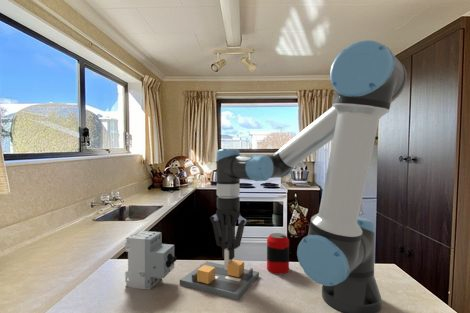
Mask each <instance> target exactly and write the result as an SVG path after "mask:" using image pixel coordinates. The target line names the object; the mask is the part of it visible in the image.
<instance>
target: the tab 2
mask: <svg viewBox="0 0 470 313" xmlns="http://www.w3.org/2000/svg"><path fill="white" fill-rule="evenodd" d="M244 269H245V261H242V260H237V259H232V261H231V262H229V263H228V275H231V276H235V277H240V276H241V275H242V274H243V273H244Z"/></svg>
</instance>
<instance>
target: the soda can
mask: <svg viewBox="0 0 470 313" xmlns="http://www.w3.org/2000/svg"><path fill="white" fill-rule="evenodd" d="M266 269H267V270H268V272H269V273H272V274H274V275H275V274H276V275H283V274H286V273H288V272H289V271H290V239H289V238H288V236H287V234H285V233H281V232H274V233H270V234H269V236H268V237H267V239H266Z"/></svg>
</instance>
